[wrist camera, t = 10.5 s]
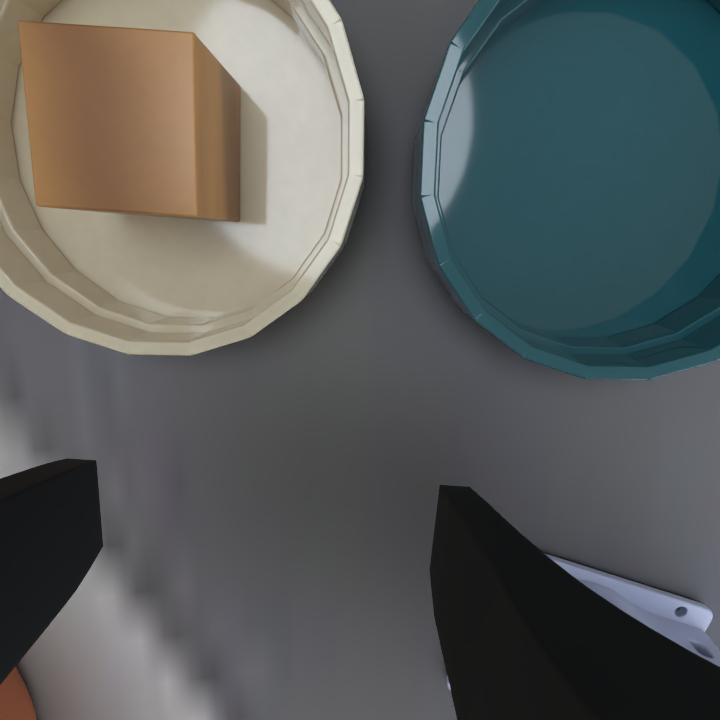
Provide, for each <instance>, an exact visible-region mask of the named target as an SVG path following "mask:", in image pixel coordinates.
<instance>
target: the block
mask: <svg viewBox="0 0 720 720" xmlns="http://www.w3.org/2000/svg"><path fill="white" fill-rule="evenodd" d="M18 31H19V41H20V51H21V61H22V71H23V81H24V91H25V101H26V111H27V121H28V131H29V141H30V151H31V161H32V171H33V182H34V192H35V202H36V205H37V206H39V207H47V208H59V209H70V210H81V211H93V212H104V213H115V214H129V215H144V216H158V217H173V218H188V219H202V220H217V221H232V222H239V221H240V109H241V87H240V85H239V84H238V83H237V82H236V80H235V79H234V78H233V77H232V76H231V75H230V74H229V72H228V71H227V70H226V69H225V68H224V67H223V65H222V64H221V63H220V62H219V61H218V60H217V59H216V57H215V56H214V55H213V54H212V53H211V52H210V51H209V49H208V48H207V47H206V46H205V45H204V44H203V42H202V41H201V40H200V39H199V38H198V37H197V36H196V34H195V33H193V32H184V31H169V30H154V29H139V28H124V27H109V26H93V25H78V24H63V23H48V22H33V21H18Z"/></svg>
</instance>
